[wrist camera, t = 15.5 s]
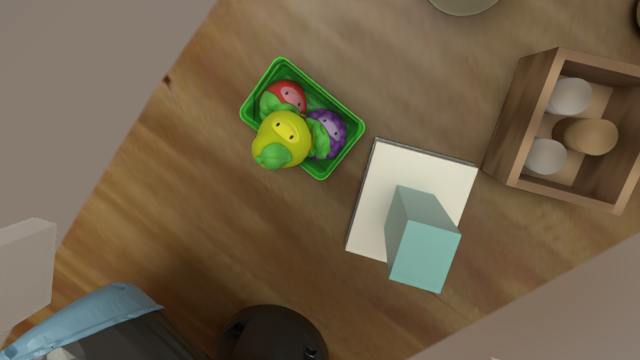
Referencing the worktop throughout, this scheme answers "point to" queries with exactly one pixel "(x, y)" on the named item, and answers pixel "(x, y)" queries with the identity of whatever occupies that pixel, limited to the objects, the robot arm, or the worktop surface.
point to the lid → (411, 214)
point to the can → (462, 6)
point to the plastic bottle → (638, 13)
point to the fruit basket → (298, 122)
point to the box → (570, 129)
